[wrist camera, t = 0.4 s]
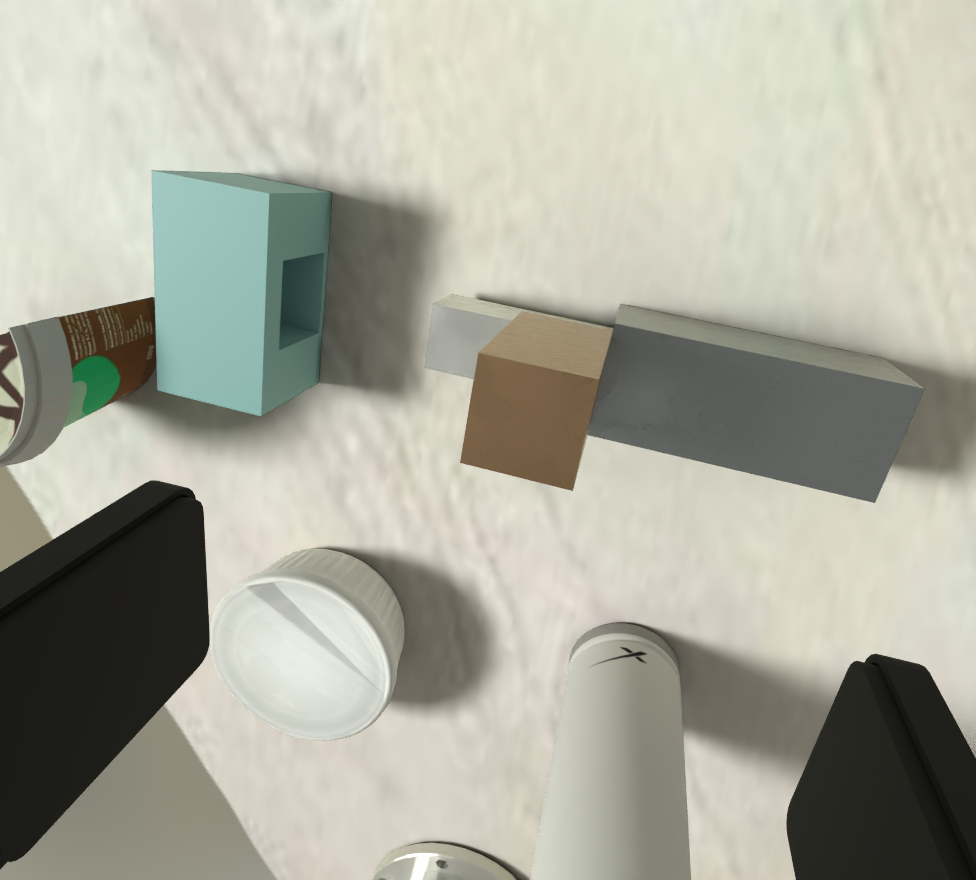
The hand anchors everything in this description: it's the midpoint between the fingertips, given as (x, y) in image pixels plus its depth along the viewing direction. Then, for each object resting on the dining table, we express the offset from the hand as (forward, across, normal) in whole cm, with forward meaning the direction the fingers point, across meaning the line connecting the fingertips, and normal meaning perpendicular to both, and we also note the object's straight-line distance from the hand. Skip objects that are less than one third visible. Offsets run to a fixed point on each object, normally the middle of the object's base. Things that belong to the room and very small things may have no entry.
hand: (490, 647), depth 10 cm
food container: (+25, +28, +8) cm, 39 cm away
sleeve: (+25, -6, +2) cm, 26 cm away
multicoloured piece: (+24, -2, +2) cm, 24 cm away
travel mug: (+25, -5, +20) cm, 32 cm away
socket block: (+25, +17, +1) cm, 31 cm away
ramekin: (+25, +13, +21) cm, 35 cm away
